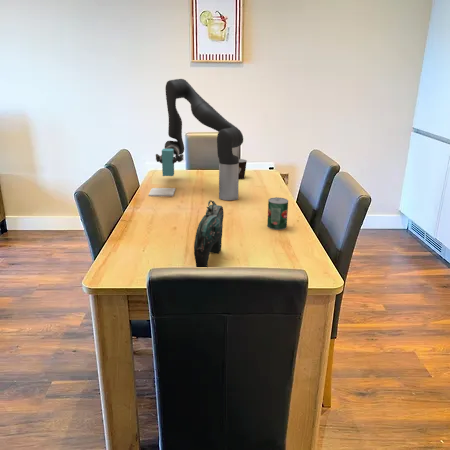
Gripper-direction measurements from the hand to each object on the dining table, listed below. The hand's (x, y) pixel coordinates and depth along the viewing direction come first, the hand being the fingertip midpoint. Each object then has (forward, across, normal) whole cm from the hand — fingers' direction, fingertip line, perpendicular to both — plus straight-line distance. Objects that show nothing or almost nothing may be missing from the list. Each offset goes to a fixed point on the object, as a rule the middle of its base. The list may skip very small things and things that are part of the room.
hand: (167, 161), depth 209 cm
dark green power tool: (+71, +22, +17) cm, 76 cm away
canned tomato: (+39, +48, +18) cm, 64 cm away
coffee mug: (-40, +34, +18) cm, 56 cm away
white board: (-9, -4, +18) cm, 20 cm away
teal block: (-3, 0, +7) cm, 7 cm away
